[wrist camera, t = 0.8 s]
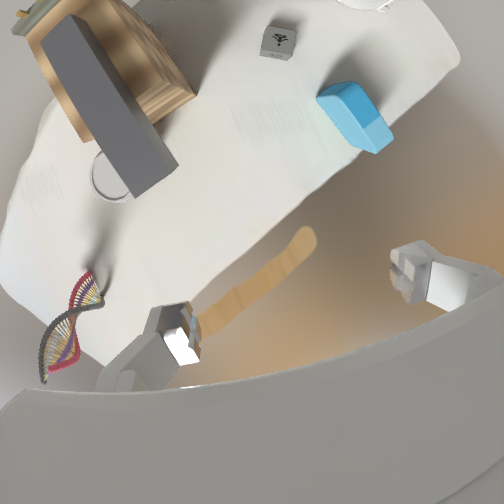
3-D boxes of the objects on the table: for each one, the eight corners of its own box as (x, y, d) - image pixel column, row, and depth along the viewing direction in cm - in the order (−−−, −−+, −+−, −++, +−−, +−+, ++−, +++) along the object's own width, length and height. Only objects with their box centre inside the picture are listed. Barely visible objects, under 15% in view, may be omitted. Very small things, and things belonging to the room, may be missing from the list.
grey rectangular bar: (179, 165, 24) (171, 173, 21) (146, 187, 25) (135, 198, 22) (85, 20, 15) (69, 13, 12) (57, 46, 16) (39, 42, 13)
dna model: (102, 267, 58) (46, 363, 32) (116, 297, 62) (75, 394, 36) (75, 272, 58) (18, 360, 32) (90, 300, 63) (45, 390, 36)
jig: (196, 96, 43) (149, 74, 16) (151, 125, 44) (62, 149, 18) (148, 24, 34) (71, -40, 8) (105, 54, 36) (2, 27, 10)
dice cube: (290, 38, 38) (296, 31, 34) (286, 60, 40) (292, 55, 36) (263, 33, 37) (267, 25, 33) (259, 55, 40) (262, 50, 35)
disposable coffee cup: (122, 190, 50) (97, 211, 39) (109, 146, 45) (80, 157, 35) (164, 178, 50) (147, 197, 39) (153, 132, 45) (131, 138, 35)
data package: (365, 132, 48) (397, 140, 37) (350, 145, 49) (378, 156, 38) (330, 85, 43) (356, 79, 32) (313, 97, 44) (335, 95, 34)
